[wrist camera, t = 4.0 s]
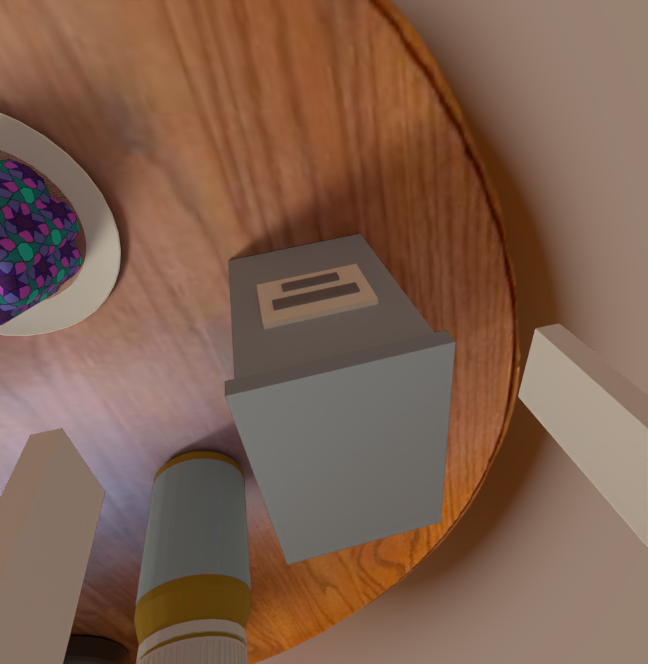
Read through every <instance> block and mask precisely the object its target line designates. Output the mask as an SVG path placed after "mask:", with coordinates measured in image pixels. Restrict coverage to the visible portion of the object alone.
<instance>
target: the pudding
mask: <svg viewBox="0 0 648 664" xmlns="http://www.w3.org/2000/svg"><path fill="white" fill-rule="evenodd" d="M0 150H1V151H3V152H6V153H8V154H11V155H13V156H15V157H17V158H19V159H21V160H22V161H24V162H26V163H28V164H30V165H31V166H33V167H34V168H35V169H37V170H38V171H40V172H41V173H42V174H44V175H45V176H46V177H47V178H48V179H50V180H51V181H52V182H53V183H54V184H55V185H56V186H57V187H58V188H59V189H60V190H61V191H62V193H63V194H64V195H65V196H66V198H67V199H68V200H69V201H70V203H71V204H72V206H73V208H74V209H75V211H76V213H77V215H78V216H79V219H80V221H81V224H82V227H83V230H84V234H85V240H86V257H85V261H84V265H83V268H82V270H81V272H80V274H79V276H78V277H77V279H76V280H75V281H74V282H73V283H72V284H71V286H70V287H68V288H67V289H66V290H64V291H63V292H62V293H60V294H58V295H56V296H54V297H52V298H50V299H47V300H45V299H46V298H48V297H49V296H51V295H52V294H54V293H55V292H57V289H58V285H60V284H62V283H63V282H65V281H67V280H68V279H70V278H71V277H73V276H74V275H75V274H76V272H77V271H78V270H79V268H80V266H81V256H82V255H81V254H80V252H79V251H78V249H77V248H76V246H75V245H74V243H73V241H74V239H75V238H76V236H77V234H78V232H79V226H78V222H77V218H76V216H75V215H74V213H73V212H72V211H71V209H70V208H69V207H68V205H67V204H65V203H63V202H61V201H59V200H57V199H55V198H53V197H51V196H49V193H48V191H47V188H46V185H45V182H44V179H43V178H41V177H40V176H39V175H38V174H37V173H36V172H34V171H33V170H32V169H31V168H30V167H28V166H26V165H24V164H21V163H19V162H17V161H14V160H12V159H9V160H0V335H8V336H29V335H37V334H44V333H50V332H54V331H57V330H61V329H64V328H67V327H69V326H71V325H74V324H76V323H78V322H80V321H82V320H84V319H85V318H86V317H88V316H89V315H91V314H92V313H93V312H95V311H96V310H97V309H98V308H99V307H100V306H101V305H102V303H103V302H104V301H105V300H106V299H107V298H108V296H109V294H110V292H111V291H112V289H113V287H114V285H115V283H116V279H117V276H118V273H119V270H120V258H121V248H120V240H119V233H118V230H117V227H116V224H115V221H114V218H113V214H112V212H111V210H110V208H109V206H108V205H107V203H106V201H105V199H104V197H103V195H102V193H101V192H100V190H99V189H98V188H97V186H96V185H95V184H94V182H93V181H92V180H91V178H90V177H89V176H88V174H87V173H86V172H85V171H84V170H83V169H82V168H81V167H80V166H79V165H78V164H77V163H76V162H75V161H74V160H73V159H72V158H71V157H70V156H69V155H68V154H67V153H66V152H65V151H63V150H62V149H61V148H60V147H58V146H57V145H56V144H54V143H53V142H52V141H51V140H49V139H48V138H47V137H45V136H44V135H42V134H41V133H39V132H37V131H35V130H34V129H32V128H30V127H29V126H27V125H25V124H24V123H22V122H20V121H18V120H16V119H14V118H11V117H9V116H7V115H4V114H2V113H0ZM43 300H44V301H43Z"/></svg>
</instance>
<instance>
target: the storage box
mask: <svg viewBox="0 0 648 664" xmlns="http://www.w3.org/2000/svg"><path fill="white" fill-rule="evenodd" d="M228 263H229V282H230V301H231V320H232V339H233V358H234V378H235V379H233V380H228V381H225V397H226V400H227V403H228V405H229V408H230V411H231V414H232V416H233V419H234V422H235V424H236V427H237V430H238V432H239V435H240V438H241V441H242V443H243V446H244V449H245V451H246V454H247V457H248V460H249V462H250V465H251V468H252V470H253V473H254V476H255V478H256V481H257V484H258V487H259V489H260V492H261V495H262V497H263V500H264V503H265V505H266V508H267V511H268V514H269V516H270V519H271V522H272V524H273V527H274V530H275V533H276V535H277V538H278V541H279V543H280V546H281V549H282V551H283V554H284V557H285V560H286V562H287V565H289V564H293V563H296V562H300V561H303V560H307V559H310V558H314V557H318V556H321V555H325V554H328V553H332V552H335V551H339V550H343V549H346V548H350V547H353V546H357V545H360V544H364V543H368V542H371V541H375V540H378V539H382V538H385V537H389V536H393V535H396V534H400V533H403V532H407V531H410V530H414V529H418V528H421V527H425V526H428V525H432V524H435V523H439V522H441V513H442V501H443V489H444V476H445V464H446V452H447V439H448V427H449V415H450V403H451V390H452V378H453V366H454V354H455V341H454V339H453V338H452V337H451V336H450V334H449V333H448V332H447V331H446V330H443V331H439V332H435V333H434V331H433V330H432V329H431V327H430V326H429V325H428V323H427V322H426V321H425V319H424V318H423V317H422V315H421V314H420V313H419V311H418V310H417V309H416V307H415V306H414V305H413V303H412V302H411V301H410V299H409V298H408V297H407V295H406V294H405V293H404V291H403V290H402V289H401V287H400V286H399V285H398V283H397V282H396V281H395V279H394V278H393V277H392V275H391V274H390V273H389V271H388V270H387V269H386V267H385V266H384V265H383V263H382V262H381V261H380V259H379V258H378V257H377V255H376V254H375V253H374V251H373V250H372V249H371V247H370V246H369V245H368V243H367V242H366V241H365V239H364V238H363V237H362V235H361V234H356V235H351V236H346V237H341V238H336V239H332V240H327V241H322V242H317V243H312V244H307V245H302V246H297V247H292V248H288V249H283V250H278V251H273V252H268V253H263V254H258V255H253V256H248V257H243V258H239V259H234V260H229V261H228Z"/></svg>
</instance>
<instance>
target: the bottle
mask: <svg viewBox="0 0 648 664" xmlns="http://www.w3.org/2000/svg"><path fill="white" fill-rule="evenodd" d="M250 609H251V581H250V565H249V549H248V533H247V516H246V500H245V484H244V475H243V471H242V469H241V467H240V466H239V464H237V463H236V462H235V461H234V460H233V459H231V458H230V457H228V456H226V455H224V454H222V453H219V452H215V451H209V450H200V451H191V452H188V453H184V454H181V455H179V456H177V457H175V458H173V459H172V460H170V461H169V462H167V463H166V464H165V465H164V466H163V467H162V468H161V469H159V471H158V472H157V474H156V476H155V478H154V484H153V488H152V495H151V502H150V509H149V516H148V523H147V530H146V536H145V543H144V550H143V557H142V564H141V571H140V578H139V585H138V592H137V598H136V605H135V616H134V624H135V629H136V634H137V639H138V644H139V648H138V653H137V660H136V664H248V654H247V650H246V647H247V640H246V632H245V629H246V625H247V621H248V617H249V613H250Z"/></svg>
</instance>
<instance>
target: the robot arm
mask: <svg viewBox="0 0 648 664" xmlns="http://www.w3.org/2000/svg"><path fill="white" fill-rule="evenodd" d="M518 397H519V398H520V399H521V400H522V401H523V403H524V404H525V405H526V406H527V407H528V409H529V410H530V411H531V412H532V413H533V414H534V416H535V417H536V418H537V419H538V420H539V421H540V422H541V424H542V425H543V426H544V427H545V428H546V430H547V431H548V432H549V433H550V434H551V435H552V436H553V438H554V439H555V440H556V441H557V442H558V444H559V445H560V446H561V447H562V448H563V449H564V451H566V453H567V454H568V455H569V456H570V457H571V459H572V460H573V461H574V462H575V463H576V464H577V466H578V467H579V468H580V469H581V470H582V472H583V473H584V474H585V475H586V476H587V477H588V479H589V480H590V481H591V482H592V483H593V484H594V486H595V487H596V488H597V489H598V490H599V491H600V492H601V494H602V495H603V496H604V497H605V498H606V500H607V501H608V502H609V503H610V504H611V505H612V506H613V508H614V509H615V510H616V511H617V512H618V514H619V515H620V516H621V517H622V518H623V519H624V521H625V522H626V523H627V524H628V525H629V526H630V528H631V529H632V530H633V531H634V532H635V533H636V535H637V536H638V537H639V538H640V539H641V540H642V542H643V543H644V544H645V545H646V546H647V547H648V395H647V394H645V393H644V392H643V391H642V390H640V389H639V388H638V387H637V386H636V385H634V384H633V383H632V382H631V381H629V380H628V379H627V378H626V377H625V376H623V375H622V374H621V373H619V372H618V371H617V370H616V369H614V368H613V367H612V366H611V365H610V364H609V363H607V362H606V361H605V360H604V359H602V358H601V357H600V356H599V355H597V354H596V353H595V352H594V351H593V350H591V349H590V348H589V347H588V346H586V345H585V344H584V343H583V342H581V341H580V340H579V339H578V338H576V337H575V336H574V335H573V334H572V333H570V332H569V331H568V330H567V329H566V328H564V327H563V326H562V325H561V324H554V325H549V326H545V327H540V328H536V329H535V332H534V336H533V340H532V344H531V348H530V352H529V356H528V360H527V364H526V368H525V371H524V375H523V379H522V384H521V387H520V391H519V395H518ZM104 495H105V490H104V489H103V488H102V486H101V485H100V483H99V482H98V480H97V479H96V477H95V476H94V474H93V473H92V471H91V470H90V468H89V467H88V465H87V464H86V462H85V461H84V460H83V458H82V457H81V455H80V454H79V452H78V451H77V449H76V448H75V446H74V445H73V443H72V442H71V440H70V439H69V437H68V436H67V434H66V433H65V432H64V430H63V429H62V428H61V429H56V430H52V431H47V432H42V433H37V434H33V435H30V437H29V439H28V441H27V443H26V445H25V447H24V449H23V451H22V454H21V456H20V458H19V460H18V462H17V464H16V466H15V468H14V470H13V473H12V475H11V477H10V479H9V481H8V483H7V485H6V487H5V489H4V491H3V494H2V496H1V498H0V664H128V662H129V654H128V652H127V650H126V649H125V648H124V647H122V646H121V645H119V644H117V643H115V642H112V641H109V640H106V639H101V638H95V637H85V636H70V633H71V629H72V625H73V621H74V617H75V613H76V609H77V605H78V601H79V597H80V593H81V589H82V584H83V580H84V576H85V572H86V568H87V564H88V560H89V556H90V552H91V548H92V544H93V540H94V536H95V532H96V528H97V524H98V520H99V516H100V512H101V507H102V503H103V499H104Z"/></svg>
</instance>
